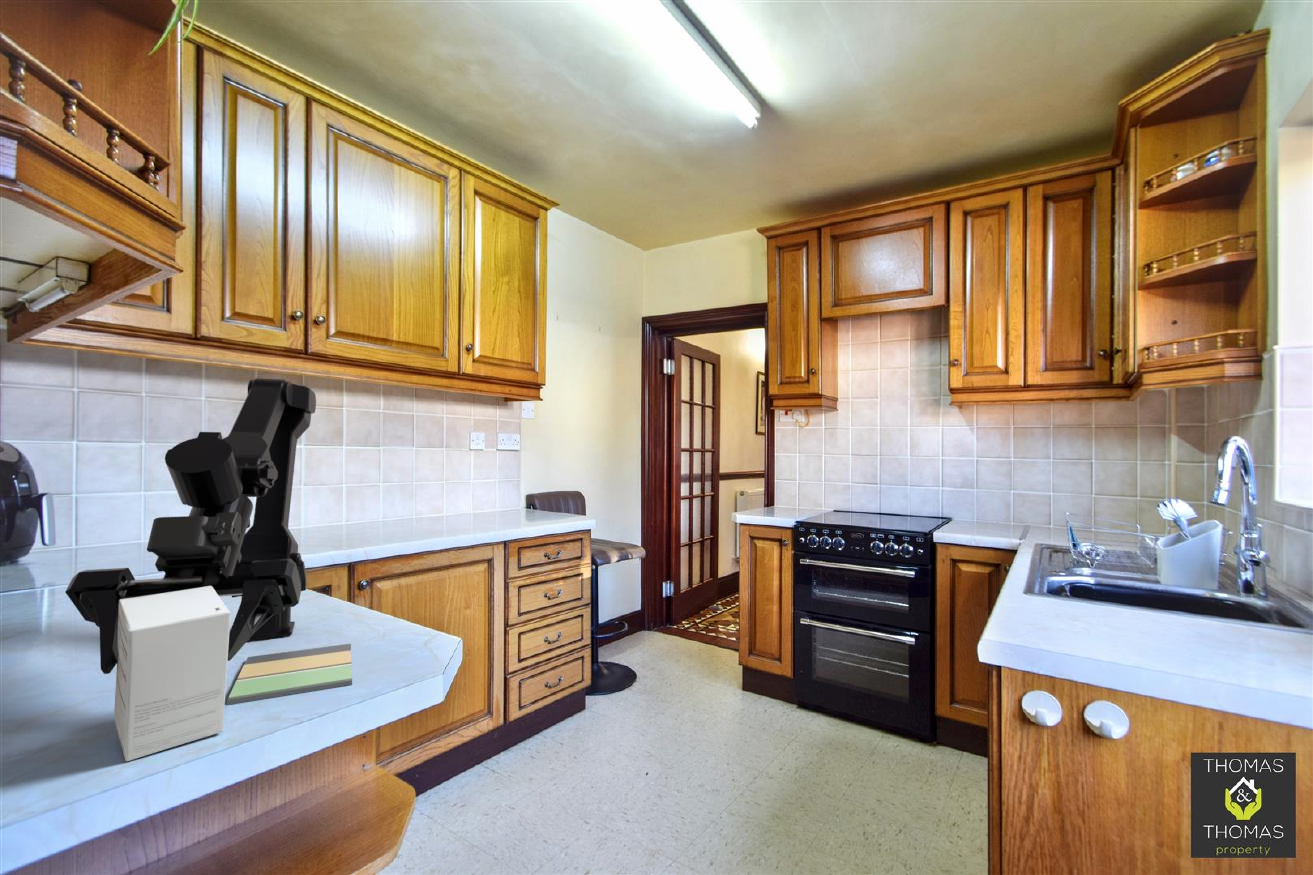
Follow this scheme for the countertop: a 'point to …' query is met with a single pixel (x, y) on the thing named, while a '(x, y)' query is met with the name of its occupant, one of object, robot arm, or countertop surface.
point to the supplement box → (170, 669)
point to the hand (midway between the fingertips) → (167, 665)
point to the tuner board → (292, 673)
